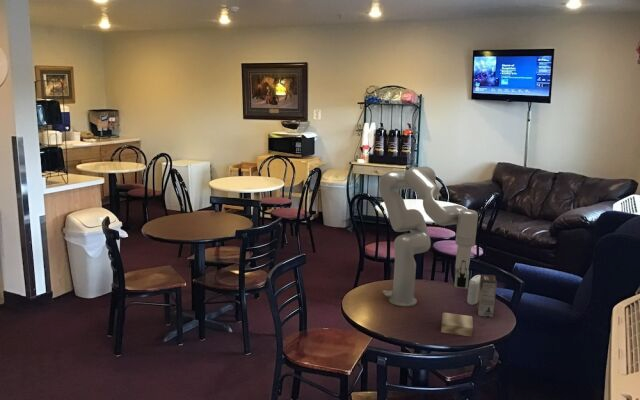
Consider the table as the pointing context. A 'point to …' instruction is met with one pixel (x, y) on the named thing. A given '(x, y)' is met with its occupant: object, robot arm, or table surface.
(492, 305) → the coffee box
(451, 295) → the table surface
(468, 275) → the sage block
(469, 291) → the photo printer
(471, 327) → the maple base
